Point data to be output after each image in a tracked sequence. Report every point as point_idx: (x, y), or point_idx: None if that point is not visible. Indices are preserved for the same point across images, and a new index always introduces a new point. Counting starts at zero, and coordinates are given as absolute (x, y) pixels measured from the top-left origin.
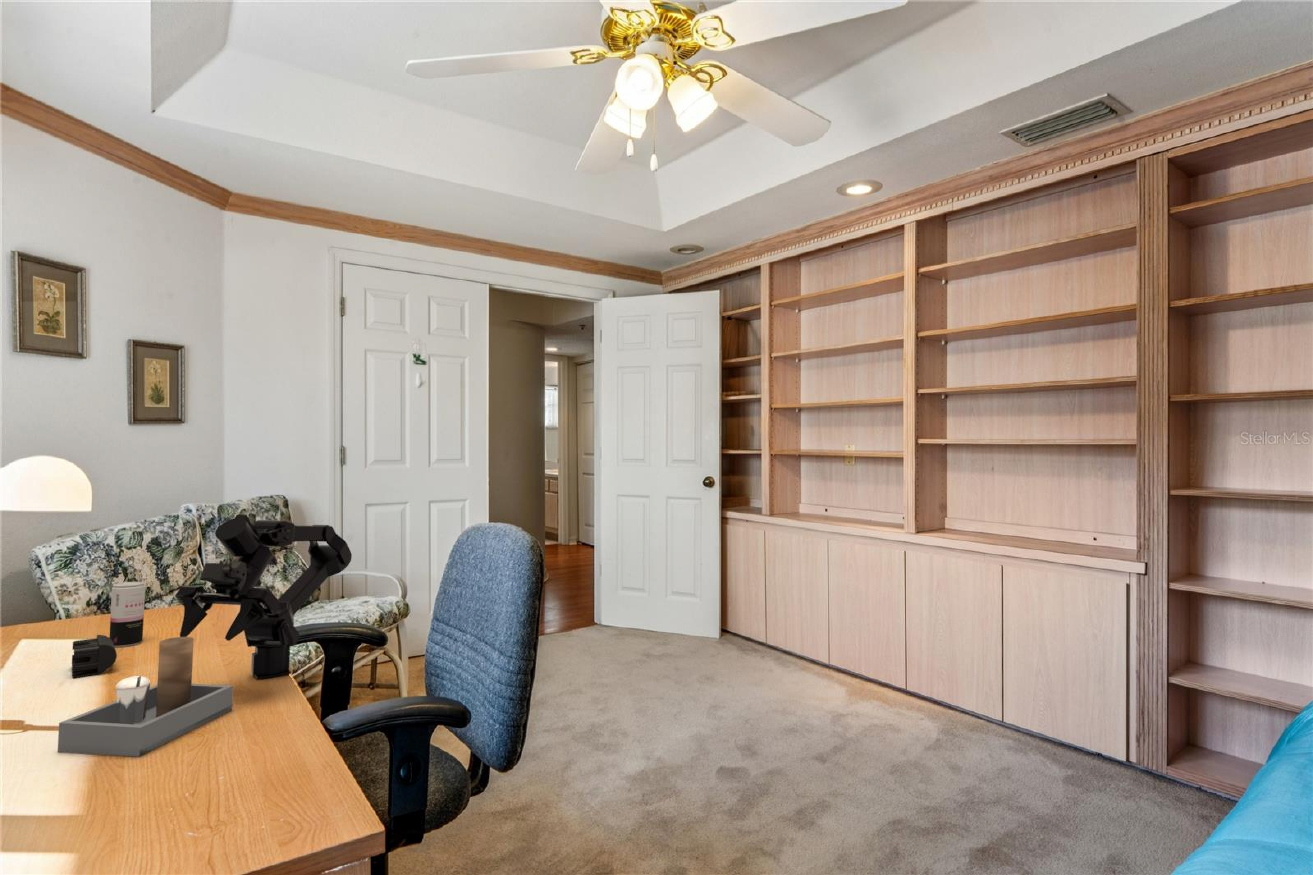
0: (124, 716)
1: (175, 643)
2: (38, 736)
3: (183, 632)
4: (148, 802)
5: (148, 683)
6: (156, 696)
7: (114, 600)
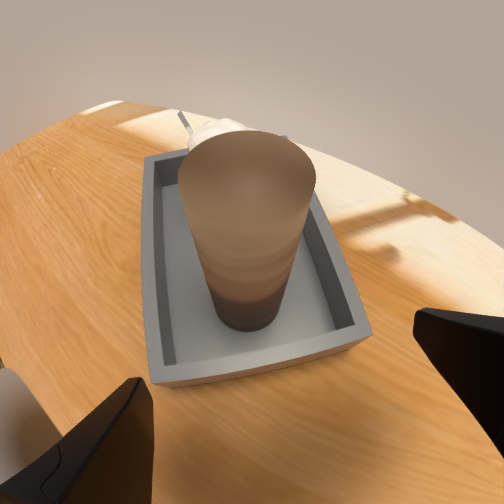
0: None
1: (205, 145)
2: (369, 191)
3: (429, 318)
4: (76, 150)
5: (189, 149)
6: (339, 310)
7: None
